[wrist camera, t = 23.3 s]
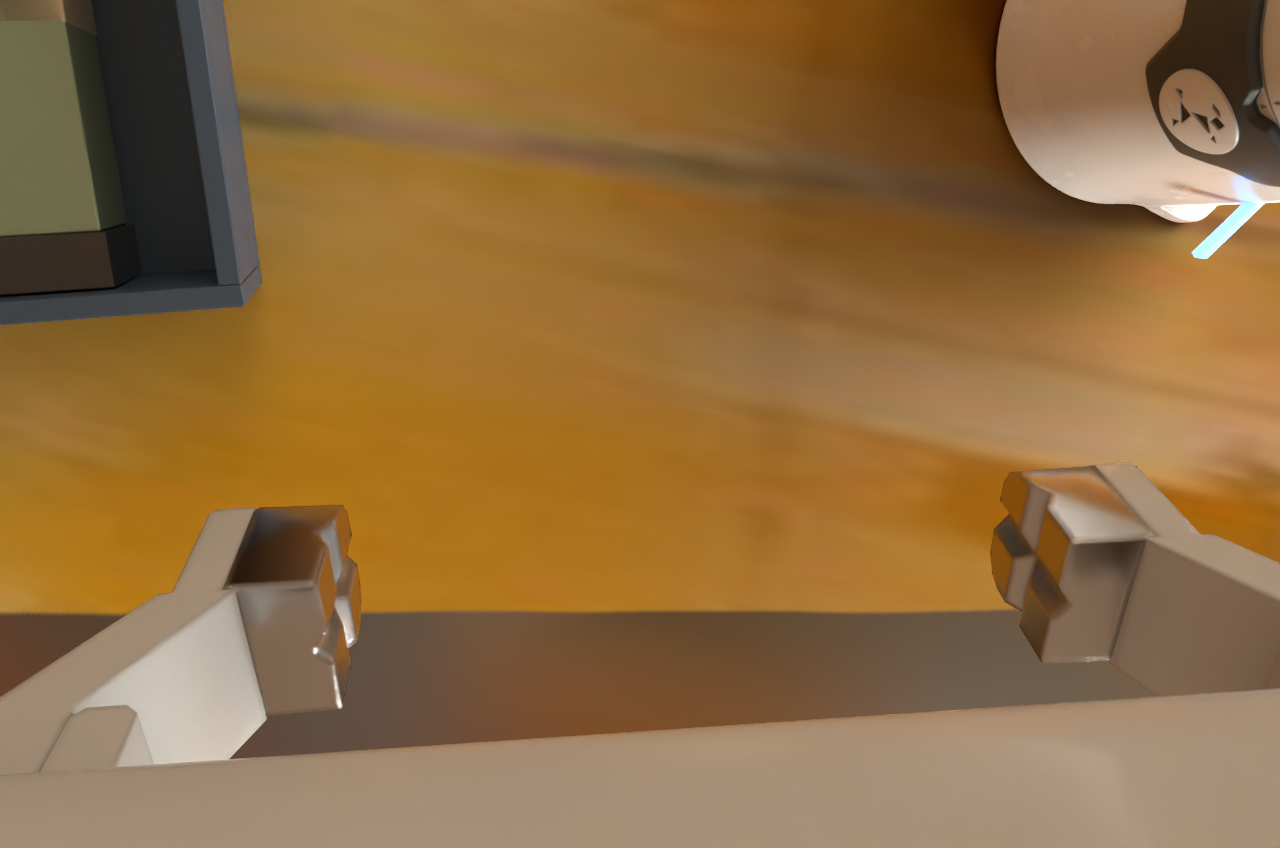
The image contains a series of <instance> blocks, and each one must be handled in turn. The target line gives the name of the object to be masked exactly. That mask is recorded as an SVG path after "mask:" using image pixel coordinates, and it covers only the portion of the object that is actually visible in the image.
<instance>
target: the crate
mask: <svg viewBox="0 0 1280 848" xmlns="http://www.w3.org/2000/svg"><path fill="white" fill-rule="evenodd" d="M91 1H92V7H93V13H94V19H95V25H96V31H97V36H96V40H97V46H98V52H99V58H100V64H101V70H102V76H103V82H104V88H105V94H106V100H107V106H108V112H109V118H110V124H111V130H112V136H113V142H114V148H115V154H116V160H117V166H118V172H119V178H120V184H121V190H122V196H123V202H124V208H125V214H126V220H127V223H126V224H134V227H135V233H136V239H137V245H138V251H139V257H140V263H141V269H142V274H140V275H138V276H136V277H134V278H132V279H130V280H128V281H126V282H124V283H122V284H120V285H118V286H116V287H114V288H102V289H88V290H73V291H58V292H44V293H29V294H15V295H0V325H9V324H22V323H35V322H48V321H61V320H74V319H87V318H100V317H113V316H127V315H140V314H153V313H166V312H179V311H192V310H205V309H218V308H231V307H243V306H245V304H246V303H247V302H248V300H249V299H250V298H251V296H252V295H253V294H254V293H255V291H256V290H257V289H258V287H259V286H260V285H261V283H262V278H261V271H260V263H259V256H258V249H257V242H256V235H255V228H254V221H253V213H252V206H251V199H250V192H249V185H248V178H247V171H246V163H245V156H244V149H243V142H242V135H241V128H240V121H239V113H238V106H237V99H236V92H235V85H234V78H233V71H232V64H231V56H230V49H229V42H228V35H227V28H226V21H225V14H224V6H223V0H91Z"/></svg>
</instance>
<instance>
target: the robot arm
mask: <svg viewBox="0 0 1280 848" xmlns="http://www.w3.org/2000/svg"><path fill="white" fill-rule="evenodd" d="M996 78H997V88H998V95H999V100H1000V105H1001V109H1002V113H1003V116H1004V119H1005V122H1006V125H1007V127H1008V130H1009V132H1010V135H1011V137H1012V139H1013V141H1014V143H1015V145H1016V146H1017V148H1018V150H1019V151H1020V153H1021V154H1022V156H1023V157H1024V159H1025V160H1026V161H1027V163H1028V164H1029V165H1030V166H1031V167H1032V169H1033V170H1034V171H1035V172H1036V173H1037V174H1038V175H1039V176H1040V177H1042V178H1043V179H1044V180H1045V181H1046V182H1048V183H1049V184H1050V185H1052V186H1053V187H1055V188H1056V189H1058V190H1060V191H1061V192H1063V193H1065V194H1067V195H1069V196H1072V197H1074V198H1077V199H1080V200H1084V201H1088V202H1093V203H1101V204H1135V205H1140V206H1143V207H1145V208H1147V209H1148V210H1150V211H1152V212H1154V213H1156V214H1157V215H1159V216H1161V217H1163V218H1165V219H1168V220H1170V221H1173V222H1196V221H1199V220H1202V219H1203V218H1205V217H1206V216H1207V215H1209V214H1210V213H1211V212H1212V211H1213V210H1214V209H1215V208H1216V207H1217V206H1218V205H1234V204H1242V205H1241V206H1240V207H1239V208H1238V209H1237V210H1236V211H1235V212H1234V213H1232V214H1231V215H1230V216H1229V217H1228V218H1227V219H1226V220H1225V221H1224V222H1223V223H1222V224H1221V225H1220V226H1219V227H1218V228H1217V229H1216V230H1215V231H1214V232H1213V233H1212V234H1211V235H1209V236H1208V237H1207V238H1206V239H1205V240H1204V241H1203V242H1202V243H1201V244H1200V245H1199V246H1198V247H1197V248H1196V249H1195V250H1194V251H1193V252H1192V254H1193V256H1194V257H1196V258H1203V259H1207V258H1208V257H1209V256H1210V255H1211V254H1212V253H1213V252H1214V251H1215V250H1216V249H1217V248H1219V247H1220V246H1221V245H1222V244H1223V243H1224V242H1225V241H1226V240H1227V239H1228V238H1229V237H1230V236H1231V235H1232V234H1233V233H1234V232H1235V231H1236V230H1237V229H1238V228H1239V227H1240V226H1242V225H1243V224H1244V223H1245V222H1246V221H1247V220H1248V219H1249V218H1250V217H1251V216H1252V215H1253V214H1254V213H1255V212H1256V211H1257V210H1258V209H1259V208H1260V207H1261V206H1262V205H1264V204H1265V203H1277V202H1280V0H1007V1H1006V4H1005V7H1004V11H1003V15H1002V18H1001V23H1000V28H999V33H998V41H997V51H996ZM1000 501H1001V502H1002V504H1003V505H1004V507H1005V509H1006V510H1007V512H1008V513H1009V514H1008V515H1007V516H1006V517H1005V518H1004V519H1003V521H1002V522H1001V523H1000V524H999V525H998V526H997V527H996V528H995V529H994V532H993V538H992V544H991V550H990V554H991V566H992V574H993V577H994V580H995V583H996V586H997V589H998V591H999V592H1000V594H1001V596H1002V598H1003V599H1004V601H1005V602H1006V603H1008V604H1009V605H1011V606H1013V607H1014V608H1016V609H1018V610H1020V611H1021V612H1022V616H1021V620H1020V625H1019V626H1020V628H1021V630H1022V631H1023V633H1024V635H1025V636H1026V638H1027V640H1028V641H1029V643H1030V644H1031V646H1032V648H1033V649H1034V651H1035V653H1036V654H1037V656H1038V658H1039V659H1040V661H1041V663H1058V662H1083V661H1109V660H1110V661H1111V662H1110V664H1111V665H1113V666H1114V667H1116V668H1117V669H1118V670H1120V671H1121V672H1123V673H1124V674H1125V675H1127V676H1128V677H1130V678H1131V679H1132V680H1134V681H1135V682H1137V683H1138V684H1140V685H1141V686H1142V687H1144V688H1145V689H1147V690H1148V691H1149V692H1151V693H1152V694H1153V695H1155V696H1156V697H1142V698H1128V699H1112V700H1098V701H1083V702H1068V703H1054V704H1039V705H1024V706H1010V707H994V708H980V709H965V710H950V711H936V712H921V713H906V714H892V715H877V716H863V717H849V718H834V719H818V720H803V721H789V722H774V723H759V724H744V725H731V726H730V725H729V726H715V727H700V728H686V729H672V730H671V729H670V730H656V731H642V732H626V733H612V734H597V735H582V736H567V737H552V738H538V739H524V740H509V741H493V742H479V743H464V744H449V745H435V746H420V747H406V748H390V749H375V750H361V751H346V752H331V753H316V754H301V755H287V756H272V757H257V758H242V759H229V758H230V757H231V756H232V755H233V754H234V753H235V752H236V751H237V750H238V749H239V748H240V747H241V746H242V745H243V744H244V743H245V742H246V741H247V739H248V738H249V737H250V736H251V735H252V734H253V733H254V732H255V731H256V730H257V729H258V728H259V727H260V726H261V725H262V724H263V723H264V722H265V721H266V719H267V718H266V715H276V714H286V713H297V712H309V711H320V710H330V709H341V708H342V705H343V700H344V696H345V691H346V687H347V683H348V678H349V674H350V670H351V666H350V660H349V654H348V648H349V647H350V646H351V645H353V644H354V643H355V642H356V641H357V637H358V632H359V626H360V615H361V590H360V579H359V573H358V567H357V564H356V563H355V562H354V561H353V560H352V559H350V558H349V557H348V556H347V552H348V548H349V544H350V540H351V536H352V533H351V528H350V523H349V518H348V513H347V511H346V509H345V508H344V506H343V505H319V506H287V507H260V508H255V507H251V508H234V509H217V510H215V511H213V512H211V513H210V514H209V515H208V517H207V519H206V521H205V523H204V526H203V528H202V530H201V532H200V534H199V536H198V538H197V540H196V542H195V544H194V547H193V549H192V551H191V553H190V555H189V557H188V559H187V561H186V563H185V566H184V568H183V570H182V572H181V574H180V576H179V578H178V580H177V582H176V585H175V587H174V589H173V591H172V593H162V594H158V595H156V596H155V597H153V598H152V599H150V600H148V601H147V602H145V603H144V604H142V605H141V606H139V607H138V608H136V609H135V610H133V611H132V612H130V613H128V614H127V615H125V616H124V617H122V618H121V619H119V620H118V621H117V622H115V623H113V624H112V625H110V626H109V627H107V628H106V629H104V630H103V631H101V632H100V633H98V634H96V635H95V636H93V637H92V638H91V639H89V640H87V641H86V642H84V643H83V644H81V645H79V646H78V647H77V648H75V649H73V650H72V651H71V652H69V653H67V654H66V655H64V656H63V657H61V658H59V659H58V660H56V661H55V662H53V663H52V664H50V665H49V666H47V667H46V668H44V669H43V670H41V671H40V672H38V673H36V674H35V675H33V676H32V677H30V678H29V679H27V680H26V681H24V682H23V683H21V684H20V685H18V686H17V687H15V688H14V689H12V690H11V691H9V692H7V693H6V694H4V695H3V696H1V697H0V848H1280V563H1278V562H1276V561H1274V560H1271V559H1269V558H1267V557H1264V556H1262V555H1260V554H1258V553H1255V552H1253V551H1251V550H1248V549H1246V548H1244V547H1241V546H1239V545H1237V544H1234V543H1232V542H1230V541H1228V540H1225V539H1223V538H1221V537H1218V536H1216V535H1214V534H1207V535H1201V534H1200V533H1199V532H1198V531H1197V530H1196V529H1195V528H1194V527H1193V526H1192V525H1191V524H1190V523H1189V522H1188V520H1187V519H1186V518H1185V517H1184V516H1183V515H1182V514H1181V513H1180V512H1179V511H1178V510H1177V509H1176V508H1175V507H1174V505H1173V504H1172V503H1171V502H1170V501H1169V500H1168V499H1167V498H1166V497H1165V496H1164V495H1163V494H1162V493H1161V492H1160V491H1159V489H1158V488H1157V487H1156V486H1155V485H1154V484H1153V483H1152V482H1151V481H1150V480H1149V479H1148V478H1147V477H1146V476H1145V474H1144V473H1143V472H1142V471H1141V470H1140V469H1139V468H1138V467H1137V466H1135V465H1132V464H1130V463H1127V462H1125V463H1113V464H1102V465H1090V466H1085V467H1071V468H1057V469H1043V470H1028V471H1014V472H1009V474H1008V476H1007V478H1006V479H1005V481H1004V483H1003V488H1002V493H1001V497H1000Z"/></svg>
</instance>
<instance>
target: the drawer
mask: <svg viewBox="0 0 1280 848" xmlns="http://www.w3.org/2000/svg"><path fill="white" fill-rule="evenodd" d="M96 36H97V31H96V25H95V19H94V13H93V7H92V1H91V0H0V295H15V294H29V293H44V292H58V291H73V290H88V289H102V288H114V287H116V286H118V285H120V284H122V283H124V282H126V281H128V280H130V279H132V278H134V277H136V276H138V275H140V274H142V269H141V263H140V257H139V251H138V245H137V239H136V233H135V227H134V224H126V223H127V220H126V214H125V208H124V202H123V196H122V190H121V184H120V178H119V172H118V166H117V160H116V154H115V148H114V142H113V136H112V130H111V124H110V118H109V112H108V106H107V100H106V94H105V88H104V82H103V76H102V70H101V64H100V58H99V52H98V46H97V40H96Z"/></svg>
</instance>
